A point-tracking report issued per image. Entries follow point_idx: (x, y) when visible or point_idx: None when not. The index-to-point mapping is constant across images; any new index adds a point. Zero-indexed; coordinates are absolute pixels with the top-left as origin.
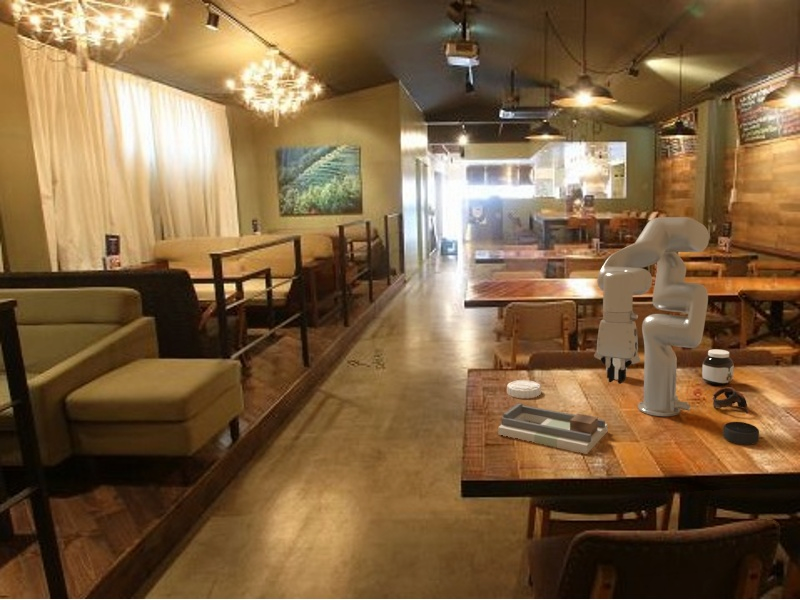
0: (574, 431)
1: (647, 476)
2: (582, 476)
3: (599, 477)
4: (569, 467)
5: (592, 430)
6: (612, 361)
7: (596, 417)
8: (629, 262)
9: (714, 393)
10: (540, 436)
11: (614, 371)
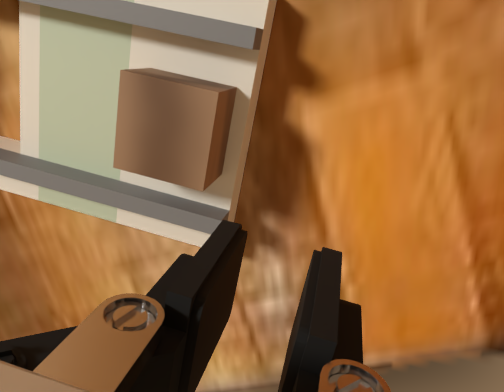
0: (156, 206)
1: (430, 356)
2: (243, 380)
3: None
4: None
5: (219, 157)
6: (139, 369)
7: (213, 98)
8: None
9: None
10: (61, 205)
11: (222, 273)
